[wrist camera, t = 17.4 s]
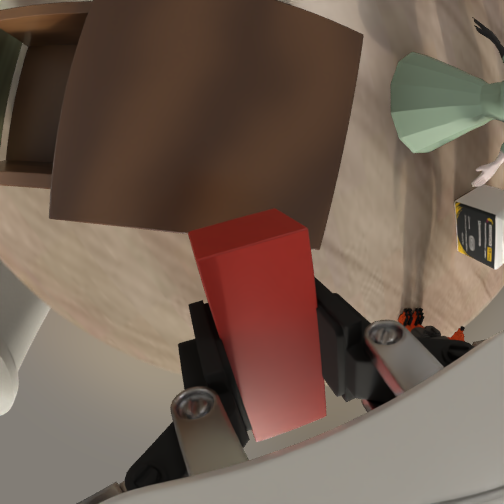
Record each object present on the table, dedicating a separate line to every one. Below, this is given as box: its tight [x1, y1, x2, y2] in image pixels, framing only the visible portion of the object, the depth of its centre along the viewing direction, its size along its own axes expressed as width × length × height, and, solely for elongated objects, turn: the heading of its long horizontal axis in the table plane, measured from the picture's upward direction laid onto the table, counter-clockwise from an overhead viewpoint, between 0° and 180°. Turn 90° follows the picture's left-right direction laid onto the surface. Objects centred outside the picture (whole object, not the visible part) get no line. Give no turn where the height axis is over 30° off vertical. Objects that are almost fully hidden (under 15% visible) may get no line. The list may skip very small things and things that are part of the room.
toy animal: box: [398, 308, 465, 341], centre depth 30 cm, size 8×6×12 cm
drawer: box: [0, 1, 93, 189], centre depth 14 cm, size 18×12×8 cm, turn 78°
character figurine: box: [391, 17, 504, 187], centre depth 18 cm, size 16×8×18 cm, turn 168°
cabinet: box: [49, 0, 363, 250], centre depth 18 cm, size 15×13×10 cm
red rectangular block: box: [188, 208, 326, 442], centre depth 11 cm, size 8×3×3 cm, turn 11°
